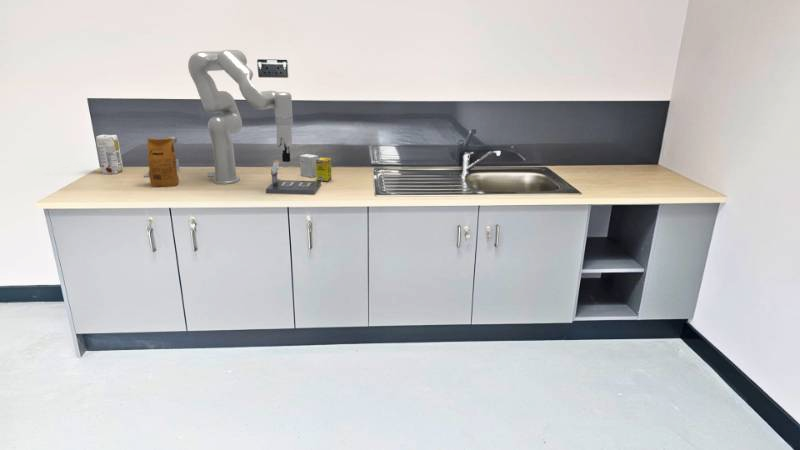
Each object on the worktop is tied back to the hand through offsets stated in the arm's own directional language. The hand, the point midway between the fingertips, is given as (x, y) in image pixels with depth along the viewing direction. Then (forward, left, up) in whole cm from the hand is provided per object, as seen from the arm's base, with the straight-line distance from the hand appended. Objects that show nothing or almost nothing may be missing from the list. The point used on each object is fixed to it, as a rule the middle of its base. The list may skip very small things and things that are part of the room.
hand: (286, 161), depth 228 cm
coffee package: (-59, +2, -13) cm, 61 cm away
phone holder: (-70, +22, -13) cm, 74 cm away
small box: (+5, +26, -13) cm, 30 cm away
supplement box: (+14, +17, -13) cm, 26 cm away
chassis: (+3, 0, -13) cm, 13 cm away
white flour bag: (-95, +21, -13) cm, 98 cm away
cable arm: (-8, +9, -6) cm, 13 cm away
